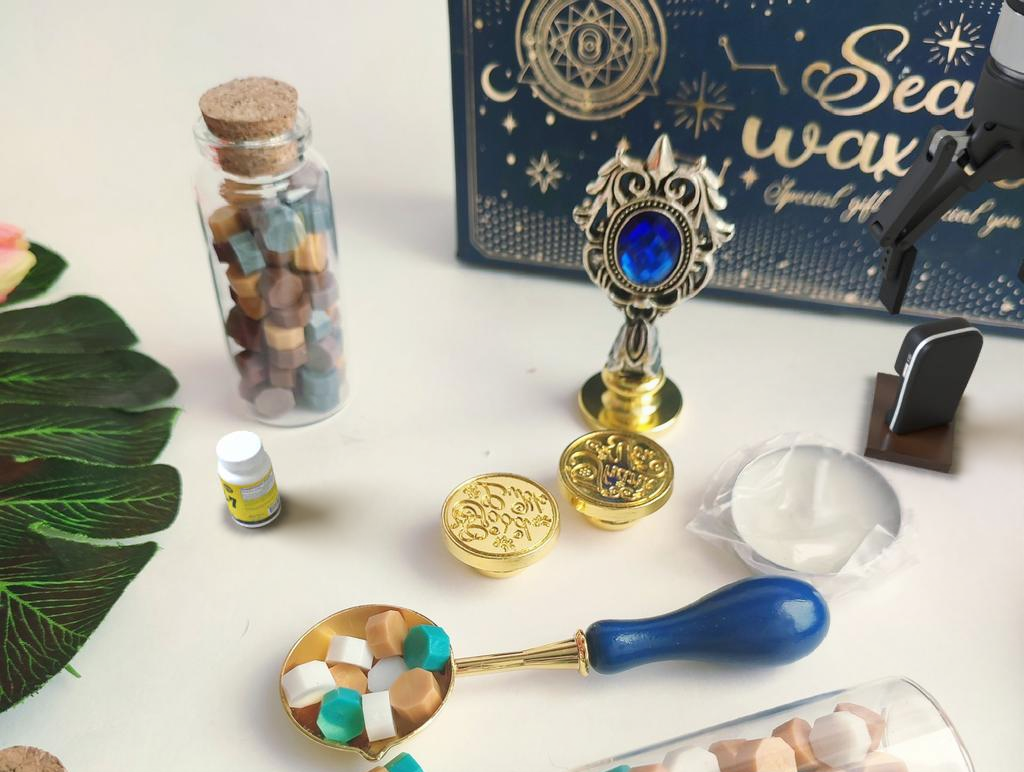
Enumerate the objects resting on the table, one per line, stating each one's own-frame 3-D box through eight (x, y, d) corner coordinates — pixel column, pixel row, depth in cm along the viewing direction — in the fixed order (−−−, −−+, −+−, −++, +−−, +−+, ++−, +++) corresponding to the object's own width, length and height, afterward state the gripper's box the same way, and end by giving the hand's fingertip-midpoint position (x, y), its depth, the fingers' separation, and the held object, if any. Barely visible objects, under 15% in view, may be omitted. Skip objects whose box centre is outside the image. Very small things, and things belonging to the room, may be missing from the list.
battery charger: (933, 399, 109) (967, 306, 101) (955, 423, 107) (991, 330, 98) (872, 413, 108) (902, 320, 99) (893, 438, 105) (924, 345, 97)
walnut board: (874, 380, 113) (877, 371, 112) (954, 395, 111) (957, 386, 110) (863, 456, 105) (866, 447, 104) (948, 473, 104) (951, 464, 103)
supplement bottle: (225, 501, 102) (206, 435, 96) (273, 486, 103) (258, 421, 97) (238, 535, 99) (219, 470, 93) (288, 519, 100) (272, 454, 94)
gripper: (1158, 24, 85) (1062, 253, 101) (863, 59, 82) (811, 290, 98) (1219, 65, 80) (1109, 299, 96) (907, 104, 77) (846, 340, 93)
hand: (958, 295), depth 97 cm, fingers open, 13 cm apart
